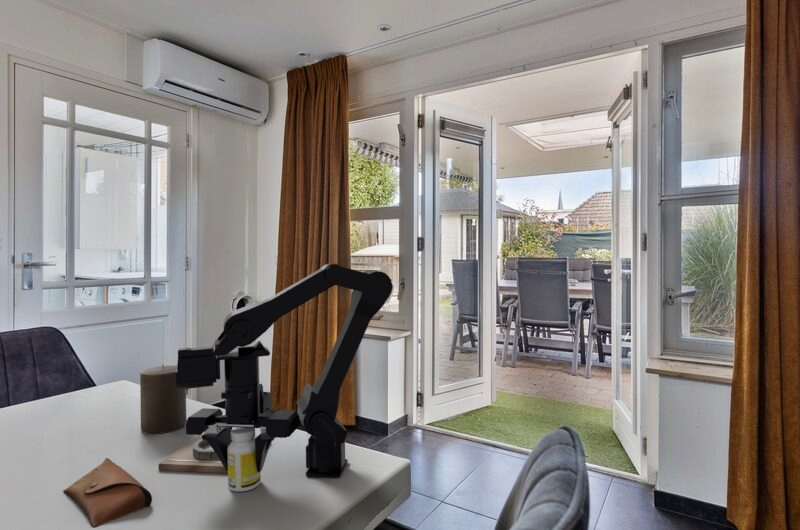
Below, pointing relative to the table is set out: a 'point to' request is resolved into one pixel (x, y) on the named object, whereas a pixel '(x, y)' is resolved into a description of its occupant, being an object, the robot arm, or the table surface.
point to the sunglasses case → (108, 493)
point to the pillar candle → (161, 400)
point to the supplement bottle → (242, 460)
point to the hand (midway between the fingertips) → (244, 470)
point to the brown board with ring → (194, 458)
